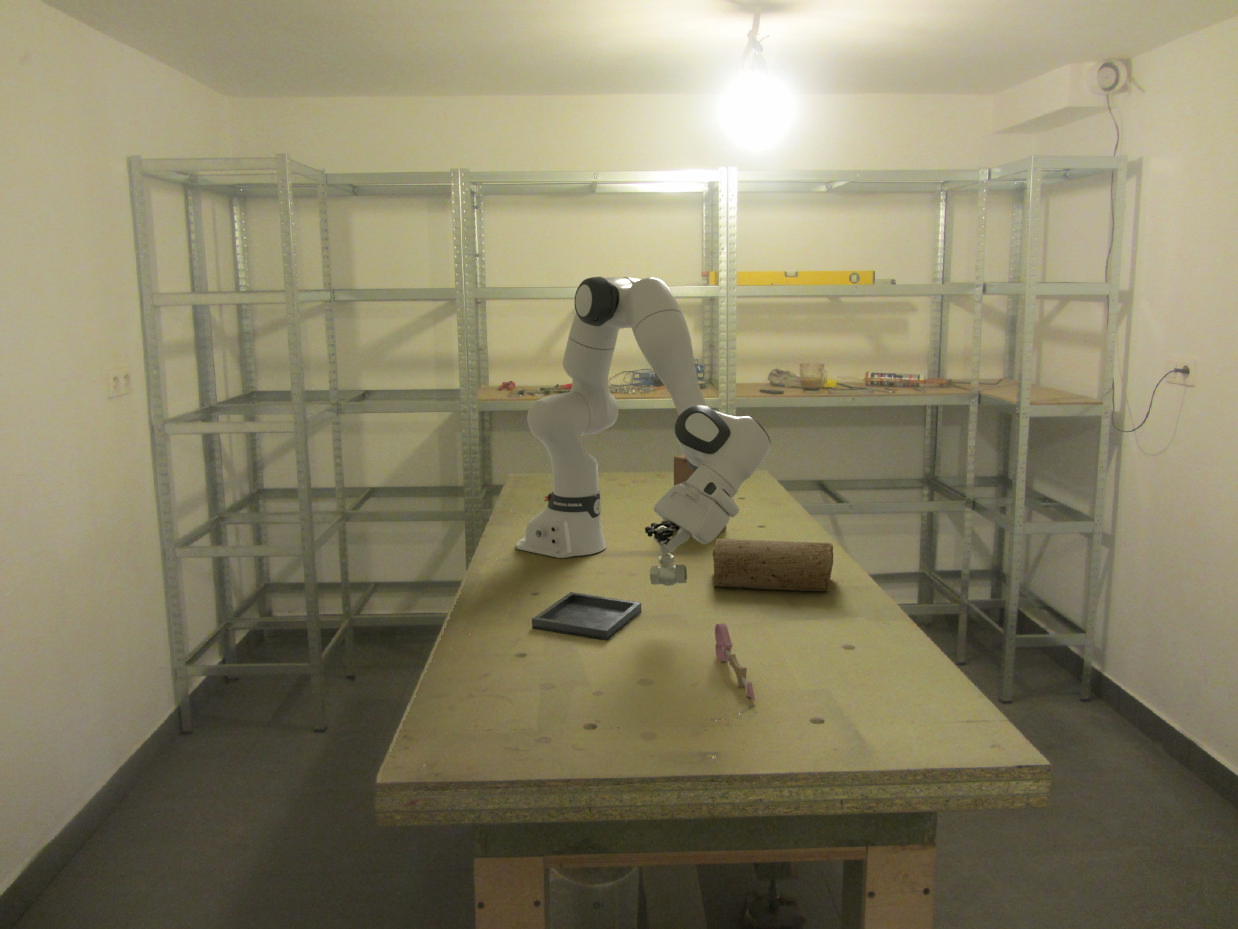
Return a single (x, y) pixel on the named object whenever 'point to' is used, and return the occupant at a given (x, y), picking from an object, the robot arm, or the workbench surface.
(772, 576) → the core sample
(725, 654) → the decorative key
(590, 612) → the dark gray tray
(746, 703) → the workbench surface
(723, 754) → the workbench surface
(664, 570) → the valve
